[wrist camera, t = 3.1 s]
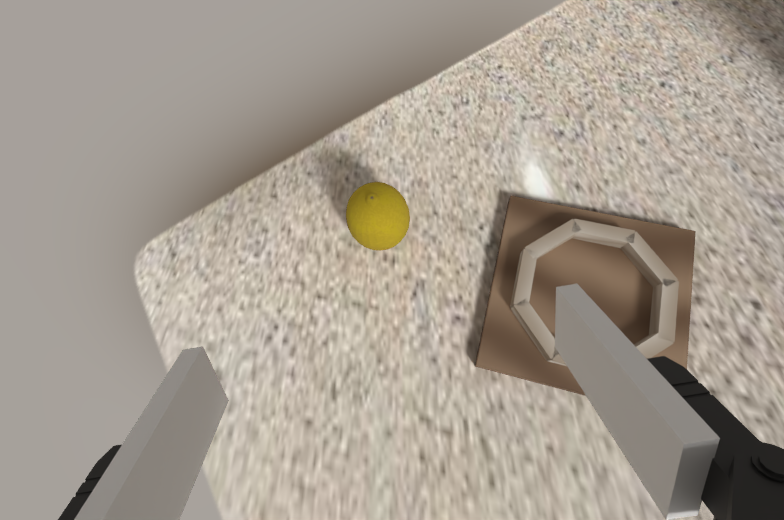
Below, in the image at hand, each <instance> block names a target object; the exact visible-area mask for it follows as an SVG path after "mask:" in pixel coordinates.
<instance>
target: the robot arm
mask: <svg viewBox="0 0 784 520" xmlns="http://www.w3.org/2000/svg"><path fill="white" fill-rule="evenodd" d="M555 348H556V350H557V351H558V353H559V354H560V356H561V357H562V359H563V360H564V362H565V364H566V365H567V367H568V368H569V370H570V371H571V373H572V374H573V376H574V378H575V379H576V381H577V382H578V384H579V385H580V387H581V388H582V390H583V392H584V393H585V395H586V396H587V398H588V399H589V401H590V402H591V404H592V406H593V407H594V409H595V410H596V412H597V413H598V415H599V416H600V418H601V420H602V421H603V423H604V424H605V426H606V427H607V429H608V430H609V432H610V434H611V435H612V437H613V438H614V440H615V441H616V443H617V444H618V446H619V448H620V449H621V451H622V452H623V454H624V455H625V457H626V458H627V460H628V462H629V463H630V465H631V466H632V468H633V469H634V471H635V472H636V474H637V475H638V477H639V479H640V480H641V482H642V483H643V485H644V486H645V488H646V489H647V491H648V493H649V494H650V496H651V497H652V499H653V500H654V502H655V503H656V505H657V507H658V508H659V510H660V511H661V513H662V514H663V516H664V517H665V519H666V520H669V519H676V518H683V517H689V516H696V515H698V512H699V509H700V505H701V502H702V501H703V502H704V503H705V505H706V506H707V507H708V509H709V510H710V511H711V513H712V514H713V515H714V519H713V520H784V449H782V448H780V447H777V446H775V445H772V444H767V443H763V442H761V441H759V440H758V439H757V438H756V437H755V436H754V435H753V434H752V433H751V432H750V431H749V430H748V429H747V428H746V427H745V426H744V425H743V424H742V423H741V422H740V421H739V420H738V419H737V418H736V417H734V416H733V415H732V414H731V413H730V412H729V411H728V410H727V409H726V408H725V407H724V406H723V405H722V404H721V403H720V402H719V401H718V400H717V399H716V398H715V397H714V396H713V395H710V392H709V391H708V390H707V389H706V388H705V387H704V386H703V385H702V384H701V383H698V380H697V379H696V378H695V377H694V376H693V375H692V374H691V373H690V372H689V371H688V370H687V369H686V368H685V367H683V366H682V365H680V364H678V363H676V362H674V361H673V360H671V359H669V358H667V357H666V356H660V357H654V358H648V359H646V358H645V356H644V355H643V354H642V353H641V352H640V351H639V350H638V349H637V348H636V347H635V346H634V345H633V343H632V342H631V341H630V340H629V339H628V338H627V337H626V336H625V335H624V334H623V333H622V332H621V330H620V329H619V328H618V327H617V326H616V325H615V324H614V323H613V322H612V321H611V320H610V319H609V317H608V316H607V315H606V314H605V313H604V312H603V311H602V310H601V309H600V308H599V307H598V306H597V304H596V303H595V302H594V301H593V300H592V299H591V298H590V297H589V296H588V295H587V294H586V293H585V291H584V290H583V289H582V288H581V287H580V286H579V285H578V284H572V285H566V286H560V287H556V313H555ZM228 401H229V400H228V398H227V396H226V394H225V392H224V390H223V388H222V385H221V383H220V381H219V379H218V377H217V375H216V373H215V371H214V369H213V367H212V365H211V362H210V360H209V358H208V356H207V354H206V352H205V350H204V348H203V347H197V348H191V349H185V350H182V352H181V354H180V355H179V357H178V358H177V360H176V361H175V363H174V364H173V366H172V368H171V369H170V371H169V372H168V374H167V375H166V377H165V379H164V380H163V382H162V383H161V385H160V387H159V388H158V389H157V391H156V393H155V394H154V396H153V397H152V399H151V401H150V402H149V404H148V405H147V407H146V408H145V410H144V411H143V413H142V414H141V416H140V418H139V419H138V421H137V422H136V424H135V425H134V427H133V428H132V430H131V432H130V433H129V435H128V436H127V438H126V439H125V441H124V443H123V444H122V445H116V446H113V447H112V448H111V449H110V450H109V451H108V452H107V453H106V454H105V455H104V456H103V457H102V458H101V459H100V460H99V461H98V462H97V463H96V464H95V466H94V467H93V469H92V470H91V472H90V473H89V475H88V476H87V478H86V479H85V480H86V481H85V483H83V484H82V485H81V486H80V488H79V489H78V491H77V492H76V496H75V497H73V498H72V500H71V501H70V503H69V504H68V506H67V507H66V509H65V510H64V512H63V513H62V515H61V516H60V518H59V519H58V520H180V517H181V515H182V512H183V510H184V507H185V505H186V502H187V500H188V498H189V495H190V493H191V490H192V488H193V486H194V483H195V481H196V478H197V476H198V473H199V471H200V469H201V466H202V464H203V461H204V459H205V456H206V454H207V452H208V449H209V447H210V444H211V442H212V439H213V437H214V435H215V432H216V430H217V427H218V425H219V422H220V420H221V418H222V415H223V413H224V410H225V408H226V405H227V403H228Z"/></svg>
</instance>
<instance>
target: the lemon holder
mask: <svg viewBox="0 0 784 520" xmlns="http://www.w3.org/2000/svg"><path fill="white" fill-rule="evenodd" d="M694 246H695V231H692V230H687V229H681V228H676V227H671V226H666V225H661V224H655V223H650V222H645V221H640V220H635V219H629V218H624V217H619V216H614V215H609V214H604V213H598V212H593V211H588V210H583V209H578V208H572V207H567V206H562V205H557V204H552V203H546V202H541V201H536V200H531V199H526V198H520V197H515V196H511V197H510V199H509V202H508V207H507V212H506V217H505V221H504V226H503V231H502V236H501V241H500V246H499V251H498V256H497V261H496V266H495V271H494V275H493V280H492V285H491V290H490V295H489V300H488V305H487V310H486V315H485V320H484V325H483V329H482V334H481V339H480V344H479V349H478V354H477V359H476V364H475V366H476V367H480V368H484V369H487V370H491V371H495V372H499V373H502V374H506V375H510V376H514V377H518V378H521V379H525V380H529V381H533V382H536V383H540V384H544V385H548V386H552V387H555V388H559V389H563V390H567V391H570V392H574V393H578V394H582V395H585V393H584V392H583V390H582V388H581V387H580V385H579V384H578V382H577V381H576V379H575V378H574V376H573V374H572V373H571V371H570V370H569V368H568V367H567V365H566V364H565V362H564V360H563V359H562V357H561V356H560V354H559V353H558V351H557V350H556V348H555V313H556V287H560V286H566V285H572V284H578V285H579V286H580V287H581V288H582V289H583V290H584V291H585V293H586V294H587V295H588V296H589V297H590V298H591V299H592V300H593V301H594V302H595V303H596V304H597V306H598V307H599V308H600V309H601V310H602V311H603V312H604V313H605V314H606V315H607V316H608V317H609V319H610V320H611V321H612V322H613V323H614V324H615V325H616V326H617V327H618V328H619V329H620V330H621V332H622V333H623V334H624V335H625V336H626V337H627V338H628V339H629V340H630V341H631V342H632V343H633V345H634V346H635V347H636V348H637V349H638V350H639V351H640V352H641V353H642V354H643V355H644V356H645V358H646V359H648V358H654V357H660V356H666V357H667V358H669V359H671V360H673V361H674V362H676V363H678V364H680V365H682V366H683V367H685V368H686V369H687V356H688V341H689V325H690V309H691V293H692V278H693V262H694Z"/></svg>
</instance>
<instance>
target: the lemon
mask: <svg viewBox="0 0 784 520" xmlns="http://www.w3.org/2000/svg"><path fill="white" fill-rule="evenodd" d="M346 220H347V225H348V228H349V230H350V232H351V234H352V236H353V237H354V238H355V239H356V240H357V241H358V243H360V244H361V245H363V246H364V247H366V248H369V249H372V250H386V249H389V248H392V247H394V246H395V245H397V244H398V243H399V242H400V241H401V240H402V239H403V238H404V236H405V235H406V232H407V230H408V228H409V221H410V216H409V209H408V206H407V204H406V201H405V199H404V198H403V196H402V195H401V194H400V193H399V191H397V190H396V189H395V188H393V187H392V186H390V185H388V184H385V183H381V182H372V183H368V184H365V185H363V186H361V187H359V188H358V189H357V190H356V191H355V192H354V193H353V194H352V196H351V197H350V199H349V202H348V205H347V209H346Z"/></svg>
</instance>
